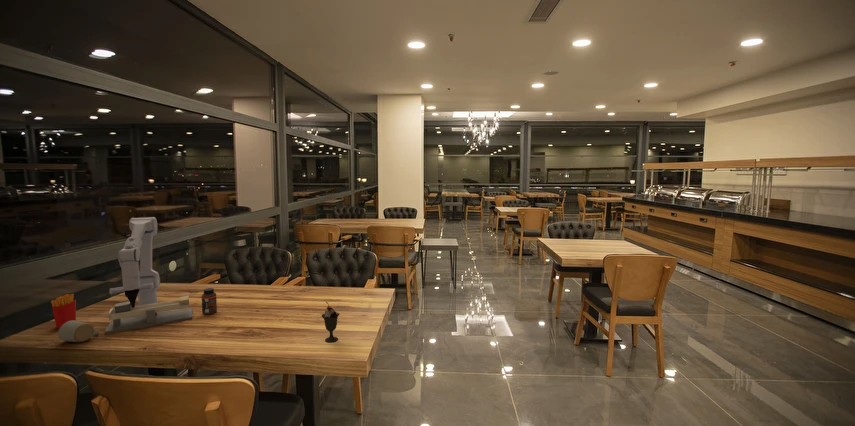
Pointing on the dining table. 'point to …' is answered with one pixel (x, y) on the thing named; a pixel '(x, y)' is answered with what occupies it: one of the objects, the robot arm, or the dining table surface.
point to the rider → (123, 307)
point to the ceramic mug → (76, 331)
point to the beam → (158, 307)
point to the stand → (148, 320)
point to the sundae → (330, 322)
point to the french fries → (64, 309)
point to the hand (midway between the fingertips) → (133, 307)
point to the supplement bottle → (209, 301)
